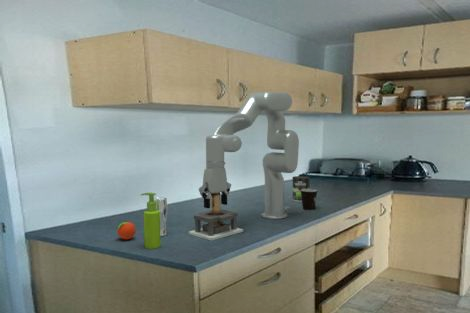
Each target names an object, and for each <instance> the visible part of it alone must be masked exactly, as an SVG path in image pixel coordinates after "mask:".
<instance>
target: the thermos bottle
mask: <svg viewBox="0 0 470 313" xmlns="http://www.w3.org/2000/svg"><path fill="white" fill-rule="evenodd" d="M221 209H222V208H221V192H217V193H211V195H210V210H211V216H220V215H221ZM218 226H221V221H216V222H214V227H218Z"/></svg>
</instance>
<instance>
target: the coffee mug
mask: <svg viewBox="0 0 470 313" xmlns="http://www.w3.org/2000/svg"><path fill="white" fill-rule="evenodd" d="M317 194H318V190H317V189H311V188H310V189H303V190H301V196H302V202H301V204H302V210H305V211H314V210H316V204H317V203H316V202H317V196H318V195H317Z"/></svg>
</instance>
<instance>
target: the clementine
mask: <svg viewBox="0 0 470 313" xmlns="http://www.w3.org/2000/svg"><path fill="white" fill-rule="evenodd" d="M136 229H137V228H136V226H135V225H134V224H133V222H130V221H125V222H124V221H123V222H121V223H120V224H118V227H117V235H118V237H119V238H121V239H122V240H130V239H132V238H133V237H134V236H135V234H136Z"/></svg>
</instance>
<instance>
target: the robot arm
mask: <svg viewBox="0 0 470 313" xmlns="http://www.w3.org/2000/svg"><path fill="white" fill-rule="evenodd" d="M292 98H293V97H292V96H291V94H289V93H288V92H284V91H261V92H253V93H251V94H249V95H248V97H247V98H246V99H245V100H244V102H243V104H242V105H241V106H240V108H239V109H238V110H237V112H236V113H235V114H234V115H232V116H231V117H230V118H228V119H227V120H225V121H224V122H223V123H221V124H220V125H219V126H218V127H217V129H216V130H215V132H213V135H207V136H206V138H205V160H206V161H205V162H206V163H205V165H206V167H205V168H204V172H203V177H202V178H203V179H202V185H201V186H200V187H199V188H198V192H199V194H200V196H201V198H202V199H203V208H205V209H211V193H217V192H220V205H224V206H227V205H228V196H229V192H231V188H232V183H230V182H229V181H228V179H227V171H226V168H225V165H226V162H225V153H237V152H238V151H239V150H241V148H242V143H243V142H242V139H241V138H240V137H239V136H238V135H236V134H237V133H238V132H241V131H243V130H246V129H248V128H250V127H251V126H252V125H253V124H254V122H255V121H256V119H257V118H258V116H259V114H260V113H261V112H263V113H264V114H265V116H266V119H267V134H266V135H267V136H266V144H267V147H268V148H269V149H271V150H278V151H283V152H278V151H277V152H275V151H274V152H268V153H266V154H265V155H264V156H263V158H262V167H263V173H264V212H262V213H261V217H263V218H265V219H270V220H282V219H285V218H287V217H288V213H287V212H286V211H289V210H290V207H289V206H285V180H284V177H283V174H282V173H284V174H293V173H295V171H296V170H297V168H298V163H299V149H300V148H299V147H300V141H299V140H300V139H299V135H298V134H297V132H296V131H294V130H291V129H286V119H285V116H284V114H283V112H286V111H288V110H290V109H291V107H292V105H293V99H292ZM235 133H236V134H235Z"/></svg>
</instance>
